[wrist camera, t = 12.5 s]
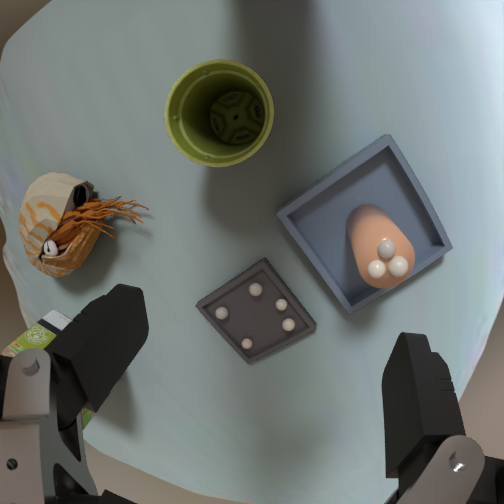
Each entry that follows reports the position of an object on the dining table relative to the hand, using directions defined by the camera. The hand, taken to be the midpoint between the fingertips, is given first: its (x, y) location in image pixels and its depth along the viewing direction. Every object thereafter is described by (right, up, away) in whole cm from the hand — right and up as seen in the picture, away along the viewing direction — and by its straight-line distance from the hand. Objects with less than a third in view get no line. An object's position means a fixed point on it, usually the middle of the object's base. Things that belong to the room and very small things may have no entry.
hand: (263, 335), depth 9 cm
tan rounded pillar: (+12, +5, +24) cm, 28 cm away
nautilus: (-23, +7, +31) cm, 39 cm away
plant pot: (-2, +17, +23) cm, 29 cm away
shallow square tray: (+13, +5, +25) cm, 29 cm away
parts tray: (0, -5, +31) cm, 32 cm away
